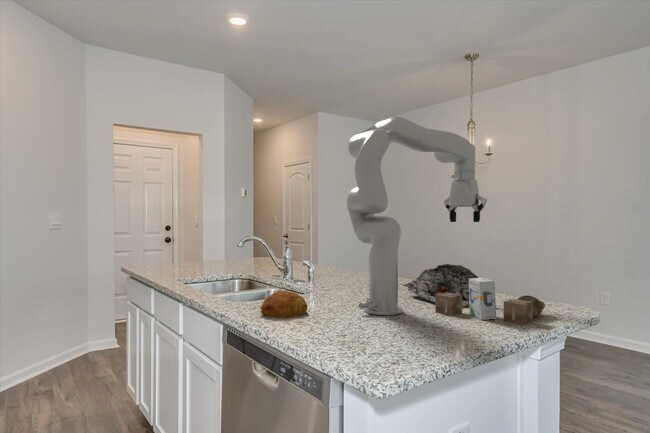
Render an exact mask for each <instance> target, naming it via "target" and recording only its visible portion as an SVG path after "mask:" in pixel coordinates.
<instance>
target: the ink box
mask: <svg viewBox="0 0 650 433" xmlns="http://www.w3.org/2000/svg"><path fill="white" fill-rule="evenodd" d="M495 285H496V282H495V281H494V280H492V279H489V278H486V277H478V278H470V279H469V304H468V305H469V315H471V316H473V317H475V318H477V319H479V320H480V321H486V320H488V321H490V320H489V319H495V320H497V307H496V303H497V301H496V286H495Z"/></svg>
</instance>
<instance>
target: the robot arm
mask: <svg viewBox="0 0 650 433" xmlns="http://www.w3.org/2000/svg"><path fill="white" fill-rule="evenodd" d="M393 143H395V144H399V145H401V146H404V147H405V148H408V149H411V150H414V151H415V152H418V153H419V152H422V153H433V155H434V158H435V159H436V161H438V162H439V163H442V164H447V163H448V164H451V163H454V165H453V166H454V167H453V168H454V170H453V174H452V175H451V178H452V179H453V180H452V181H451V184H450V185H451V186H450V192H449V197H448V198H446V199H445V200H443V204H444V206H445V208H446V209H447V210H448V212H449V222H450V223H456V222H457V211H456V210H457V209H458V208H459V207H460V208H462V207H463V208H464V207H466V208H467V207H469V208H470V207H472V208H473V210H474V211H473V212H472V213H473V214H472V215H473V218H472V219H473V220H472V221H473V222H474V223H480V220H481V212H482V211H483V209H484V208H485V205H486V204H487V201H488V199H487V198H485V197H484V196H481V195H480V192H479V191H480V190H479V185H478V180H477V179H476V146H475V144H473V143H471V142H470V140H468V139H467V138H466V137H464V136H462V135H460V134H458V133H454V132H451V131H450V132H449V131H444V130H439V129H434V128H433V129H432V128H427V127H424V126H423V125H419V124H418V123H416V122H413V121H411V120H410V119H407V118H405V117H402V116H392V117H390V118H386V119H382V120H380V121H378V122H376V123H375V124H373V125H371V126H369V127H367V128H366V129H364V130H362V131H360V132H358V133H357V134H355V135H354V136H352V137H351V138H350V139H349V142H348V145H347V146H348V147H347V148H348V152H349V154H350V155H351V156H352V158H355V159H356V160H355V162H354V175H355V177H354V178H355V181H356V186H357V187H354V188H352V189H351V190H350V191H349V193H348V194H347V199H346V206H347V207H346V208H347V211H348V214H349V217H350V221H351V224H352V227H353V228H352V229H353V232H354V234H355V237H356V238H357V239H358V240H359V242H361V243H363V244H370V245H371V248H370V251H369V256H368V282H369V283H368V297H367V298H366V301H363V302H359V304H358V308H359V309H361V310H362V309H364V310H363V311H364V312H365V313H367V314H370V315H375V316H376V315H377V316H395V315H400V314H402V313H403V310H404V309H403V307H402V306H400V305H399V276H398V275H399V267H398V266H399V262H398V260H399V259H398V258H399V247H400V246H399V245H400V241H401V240H400V239H401V232H402V231H401V230H402V229H401V225H400V223H399V221H397V219H396V218H394V217H392V216H387V215H376V216H375V214H381V213H384V212H385V211H386V210H387V208H388V207H389V197H388V194H387V190H386V186H385V183H384V178H383V174H382V169H381V166H382V165H381V164H382V160H383V158H384V155H385V154H386V152H387V151H388V149H389V147H390V144H393Z"/></svg>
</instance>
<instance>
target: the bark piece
mask: <svg viewBox="0 0 650 433" xmlns="http://www.w3.org/2000/svg"><path fill="white" fill-rule="evenodd" d="M470 278H479V277H478V276H477V274H475V273H474V272H473V271H471V269H470V268H467V267H465V266H464V265H461V264H450V263H445V264H441V265H437V266H436V267H435V268H429V269H424V270H423V271H422V272H420V275H419V276H418V277H416V278H414V280H412V281H410V282H408V283H405V284H402V286H404V288H407V290H408V291H409V292H411V293H413V294H414V295H416V296H418V297H420V298H422V299H425V300H427V301H430V302H432V303H435V304H436V294H441V293H446V292H447V293H453V294H459V295H462V308H464V307H466V306H468V305H469V279H470Z"/></svg>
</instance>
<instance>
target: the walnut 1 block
mask: <svg viewBox="0 0 650 433" xmlns="http://www.w3.org/2000/svg"><path fill="white" fill-rule="evenodd" d="M517 299H518V298H517ZM517 299H516V298H512V299H507V300H505V301H503V322H505V321H506V323H510V322H511V323H512V324H515V323H516V324H515V325H519V326H520V325H522V326H526V325H528V324H531V323H533V322H534V316H533V302H530V301H523V300H517Z"/></svg>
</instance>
